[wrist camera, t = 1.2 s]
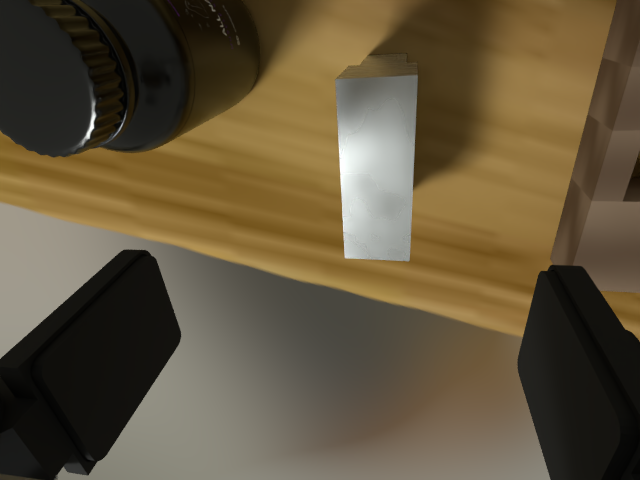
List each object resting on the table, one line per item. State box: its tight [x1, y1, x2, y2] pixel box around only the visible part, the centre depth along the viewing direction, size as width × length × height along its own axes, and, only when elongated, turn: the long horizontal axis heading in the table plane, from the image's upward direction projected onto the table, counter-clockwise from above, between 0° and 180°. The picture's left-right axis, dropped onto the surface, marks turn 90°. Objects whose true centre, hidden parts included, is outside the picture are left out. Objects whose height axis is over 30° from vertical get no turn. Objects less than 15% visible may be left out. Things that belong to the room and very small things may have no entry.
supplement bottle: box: [0, 0, 260, 157], centre depth 17 cm, size 7×7×12 cm
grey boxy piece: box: [335, 53, 418, 261], centre depth 20 cm, size 8×3×7 cm, turn 5°
